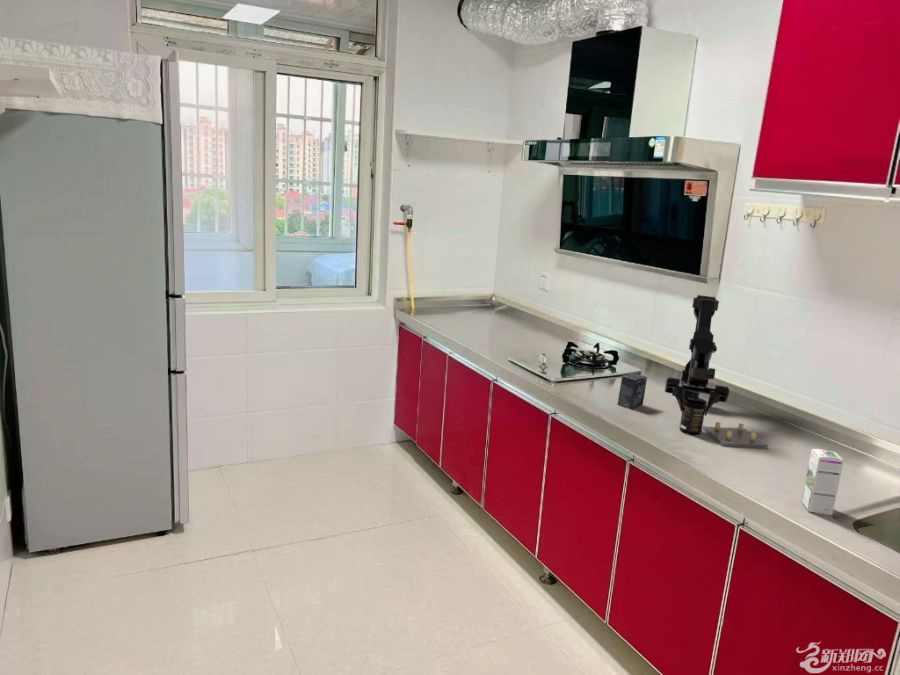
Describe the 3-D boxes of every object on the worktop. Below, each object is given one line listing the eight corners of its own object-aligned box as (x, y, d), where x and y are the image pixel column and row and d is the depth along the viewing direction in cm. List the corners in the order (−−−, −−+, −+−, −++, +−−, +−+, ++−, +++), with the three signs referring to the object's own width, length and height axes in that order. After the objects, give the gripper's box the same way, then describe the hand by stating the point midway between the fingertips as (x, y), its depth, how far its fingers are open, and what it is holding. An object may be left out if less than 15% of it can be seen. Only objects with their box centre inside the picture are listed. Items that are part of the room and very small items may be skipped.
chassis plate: (702, 429, 221) (704, 418, 220) (744, 431, 222) (746, 421, 221) (722, 446, 207) (724, 435, 206) (767, 448, 208) (769, 437, 208)
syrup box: (832, 516, 166) (845, 459, 163) (806, 512, 167) (819, 456, 164) (824, 505, 172) (837, 451, 169) (799, 501, 173) (811, 447, 169)
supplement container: (706, 434, 216) (711, 402, 214) (691, 436, 213) (696, 404, 210) (689, 426, 222) (694, 395, 220) (674, 429, 218) (679, 397, 216)
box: (631, 409, 234) (636, 379, 232) (617, 404, 238) (621, 375, 236) (643, 405, 240) (647, 376, 237) (628, 401, 244) (633, 372, 241)
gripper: (671, 352, 218) (664, 395, 211) (734, 362, 213) (729, 406, 205) (667, 370, 228) (661, 412, 220) (728, 380, 222) (723, 423, 214)
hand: (693, 412), depth 215 cm, fingers closed on supplement container, 7 cm apart
